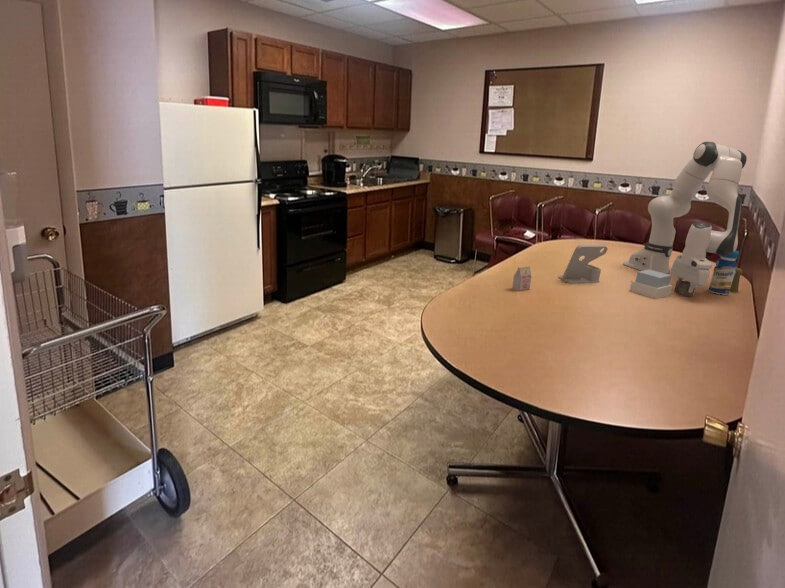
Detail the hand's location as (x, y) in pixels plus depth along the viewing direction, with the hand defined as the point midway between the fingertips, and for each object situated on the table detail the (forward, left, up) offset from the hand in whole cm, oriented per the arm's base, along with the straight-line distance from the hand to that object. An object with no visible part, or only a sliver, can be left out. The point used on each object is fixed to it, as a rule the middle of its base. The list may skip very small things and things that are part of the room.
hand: (684, 289), depth 219 cm
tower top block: (-8, -14, +2) cm, 16 cm away
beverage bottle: (+6, +20, -2) cm, 21 cm away
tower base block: (-8, -14, -3) cm, 16 cm away
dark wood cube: (0, 0, -2) cm, 2 cm away
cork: (+7, +30, -2) cm, 31 cm away
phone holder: (-35, -28, -2) cm, 45 cm away
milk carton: (-36, -67, -2) cm, 76 cm away
